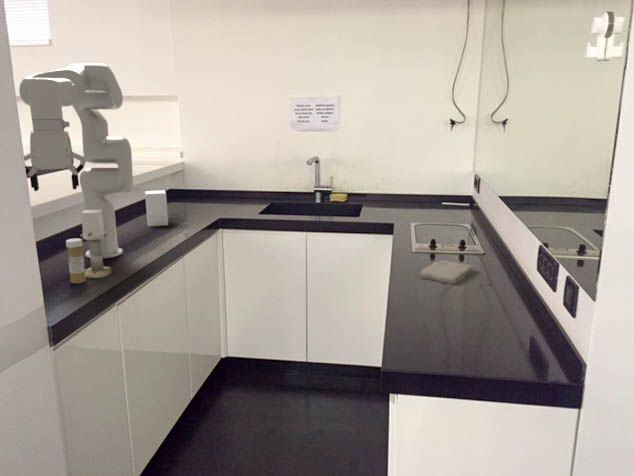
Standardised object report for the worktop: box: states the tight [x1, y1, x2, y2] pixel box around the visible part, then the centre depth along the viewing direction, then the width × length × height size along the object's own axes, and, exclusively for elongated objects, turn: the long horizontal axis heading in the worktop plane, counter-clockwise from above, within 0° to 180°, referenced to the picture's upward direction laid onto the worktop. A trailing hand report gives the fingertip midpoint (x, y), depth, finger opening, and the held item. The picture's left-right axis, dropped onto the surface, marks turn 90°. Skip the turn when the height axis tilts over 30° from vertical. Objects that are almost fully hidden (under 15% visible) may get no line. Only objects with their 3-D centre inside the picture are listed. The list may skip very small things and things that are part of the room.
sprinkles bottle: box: [65, 237, 87, 284], centre depth 164 cm, size 5×5×13 cm
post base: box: [85, 239, 112, 279], centre depth 172 cm, size 8×8×12 cm
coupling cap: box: [80, 209, 108, 241], centre depth 168 cm, size 9×8×8 cm
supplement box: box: [144, 189, 169, 227], centre depth 243 cm, size 9×9×15 cm
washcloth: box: [419, 259, 474, 285], centre depth 175 cm, size 12×18×3 cm, turn 145°
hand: (55, 189), depth 147 cm, fingers open, 9 cm apart
